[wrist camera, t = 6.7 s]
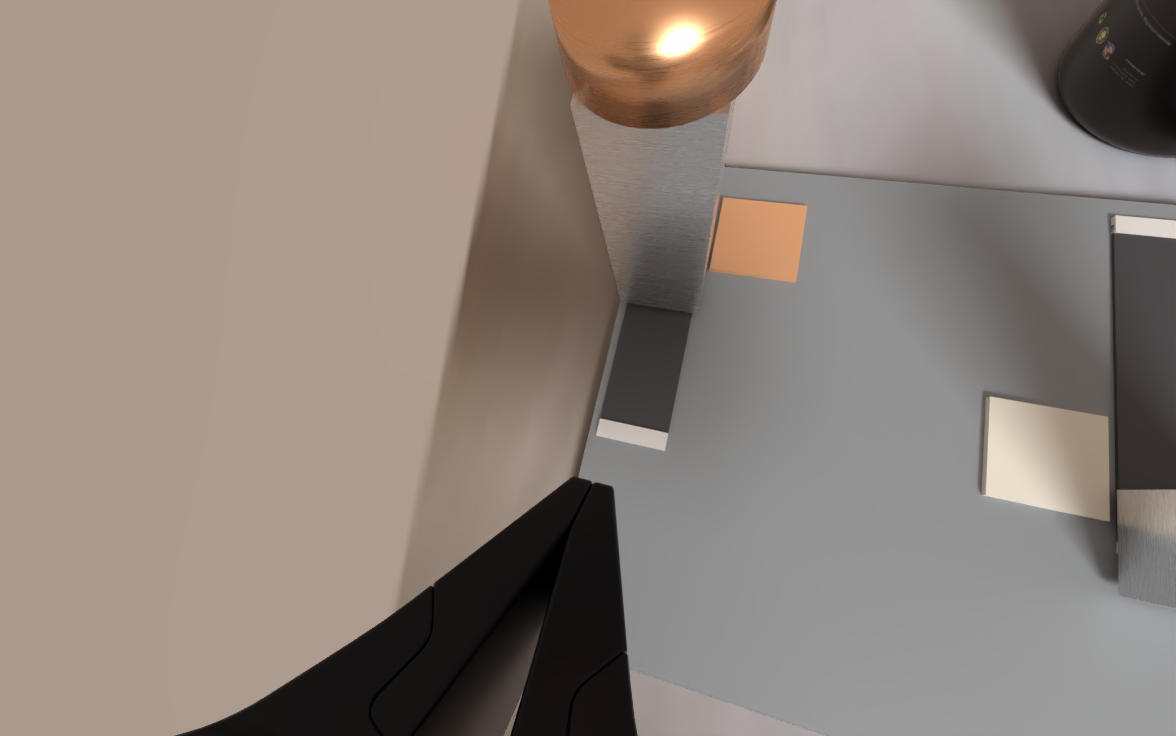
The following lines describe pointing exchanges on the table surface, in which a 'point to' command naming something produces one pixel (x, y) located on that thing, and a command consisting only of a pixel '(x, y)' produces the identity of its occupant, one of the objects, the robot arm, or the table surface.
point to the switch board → (900, 460)
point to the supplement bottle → (1125, 75)
